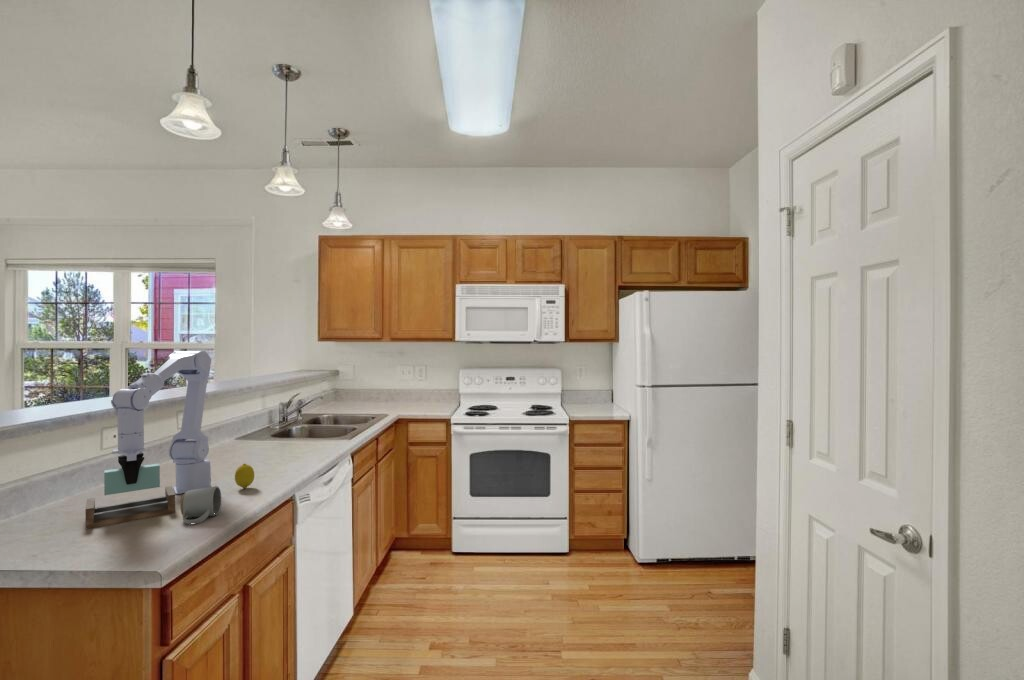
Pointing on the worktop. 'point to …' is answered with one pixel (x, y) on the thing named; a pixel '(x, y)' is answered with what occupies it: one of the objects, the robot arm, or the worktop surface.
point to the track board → (129, 510)
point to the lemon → (244, 475)
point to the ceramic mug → (200, 504)
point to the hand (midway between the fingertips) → (131, 482)
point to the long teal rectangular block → (117, 484)
